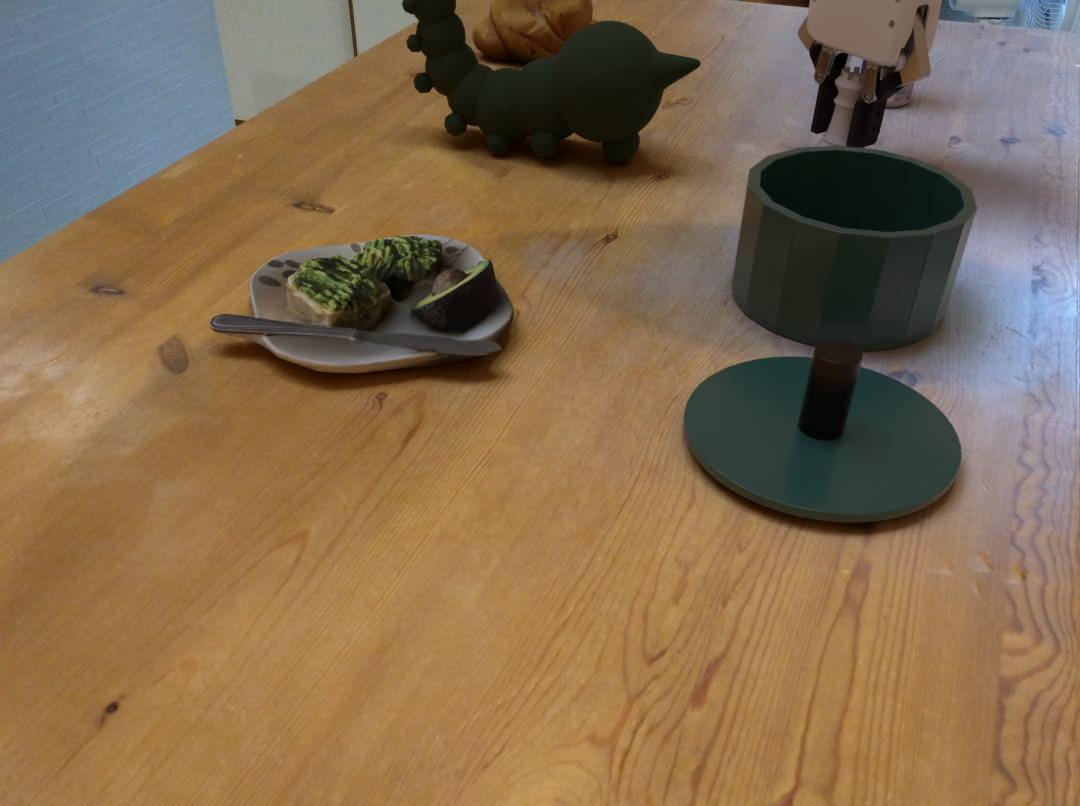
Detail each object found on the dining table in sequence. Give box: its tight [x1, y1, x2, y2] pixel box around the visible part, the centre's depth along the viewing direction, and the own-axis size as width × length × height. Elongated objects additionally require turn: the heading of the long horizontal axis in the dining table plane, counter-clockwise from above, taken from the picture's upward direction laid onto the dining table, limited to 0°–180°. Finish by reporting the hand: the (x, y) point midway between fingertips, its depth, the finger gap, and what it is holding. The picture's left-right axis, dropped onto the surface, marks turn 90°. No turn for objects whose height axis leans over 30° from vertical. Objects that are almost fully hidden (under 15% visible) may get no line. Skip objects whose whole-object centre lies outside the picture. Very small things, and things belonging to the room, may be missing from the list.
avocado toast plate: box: [209, 233, 515, 374], centre depth 69 cm, size 19×18×5 cm
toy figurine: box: [401, 0, 701, 165], centre depth 88 cm, size 9×19×25 cm
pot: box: [731, 146, 978, 352], centre depth 72 cm, size 15×15×8 cm
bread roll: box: [471, 0, 594, 63], centre depth 112 cm, size 13×10×8 cm
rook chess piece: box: [815, 66, 866, 148], centre depth 91 cm, size 4×4×8 cm
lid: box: [682, 340, 962, 523], centre depth 59 cm, size 16×16×6 cm
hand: (843, 136), depth 92 cm, fingers closed on rook chess piece, 3 cm apart
